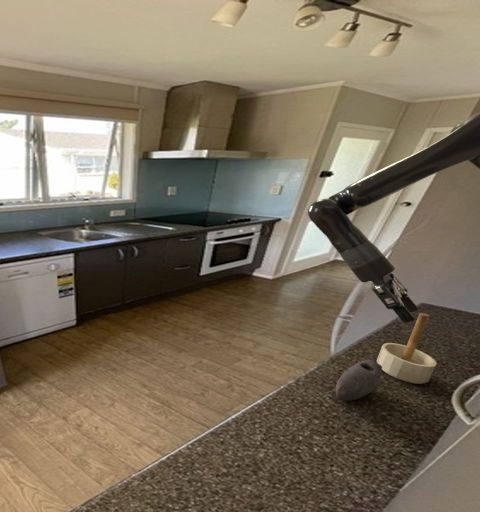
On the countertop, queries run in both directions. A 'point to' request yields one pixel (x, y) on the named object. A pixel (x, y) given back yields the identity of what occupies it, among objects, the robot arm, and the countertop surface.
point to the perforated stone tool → (359, 380)
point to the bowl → (406, 364)
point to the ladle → (415, 336)
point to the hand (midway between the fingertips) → (412, 316)
